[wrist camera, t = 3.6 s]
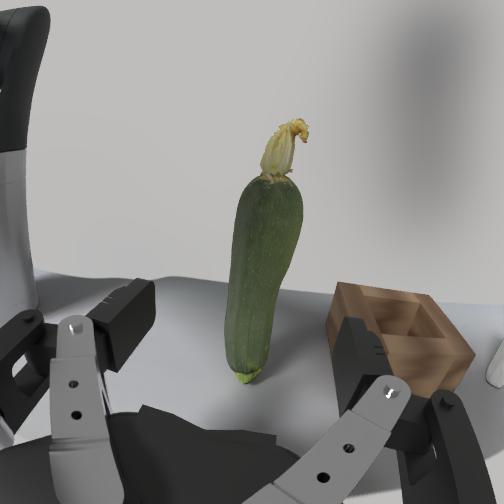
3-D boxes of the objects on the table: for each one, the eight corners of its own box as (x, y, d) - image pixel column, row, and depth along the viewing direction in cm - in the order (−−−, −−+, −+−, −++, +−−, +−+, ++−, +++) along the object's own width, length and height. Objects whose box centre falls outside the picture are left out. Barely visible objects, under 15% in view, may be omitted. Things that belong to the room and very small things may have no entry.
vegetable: (209, 366, 23) (234, 110, 17) (246, 350, 26) (279, 122, 20) (242, 397, 20) (287, 109, 14) (280, 375, 23) (331, 125, 17)
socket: (337, 399, 21) (359, 349, 19) (325, 324, 32) (337, 281, 30) (448, 399, 20) (475, 354, 18) (413, 333, 31) (429, 295, 29)
